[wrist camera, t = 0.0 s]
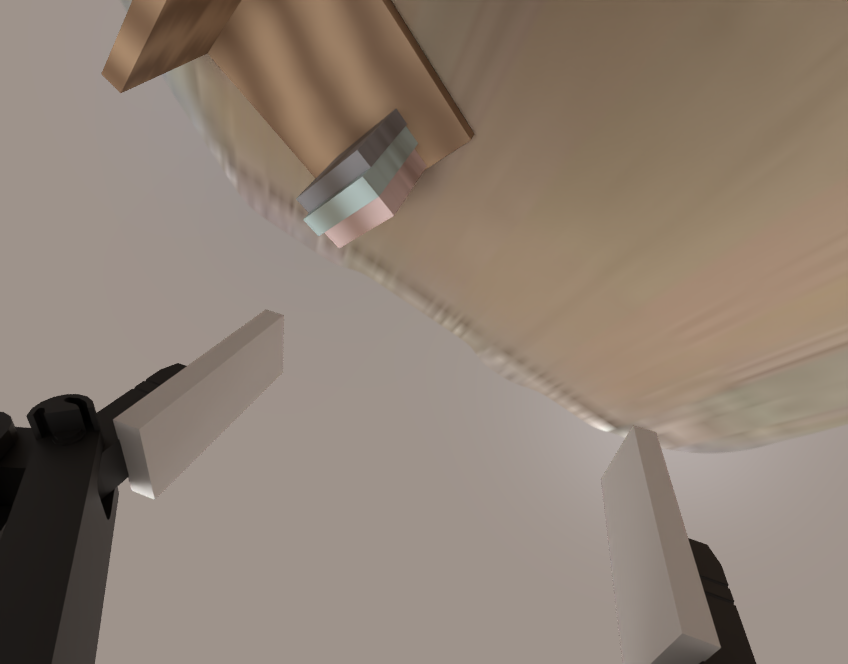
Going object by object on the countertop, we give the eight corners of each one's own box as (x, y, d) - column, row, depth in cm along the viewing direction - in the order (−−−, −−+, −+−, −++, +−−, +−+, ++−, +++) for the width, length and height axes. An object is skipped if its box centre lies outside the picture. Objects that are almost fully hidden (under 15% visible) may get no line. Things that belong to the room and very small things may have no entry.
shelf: (304, -138, 27) (189, -136, 20) (474, 134, 36) (436, 201, 29) (202, 32, 37) (101, 73, 30) (354, 212, 46) (304, 276, 39)
